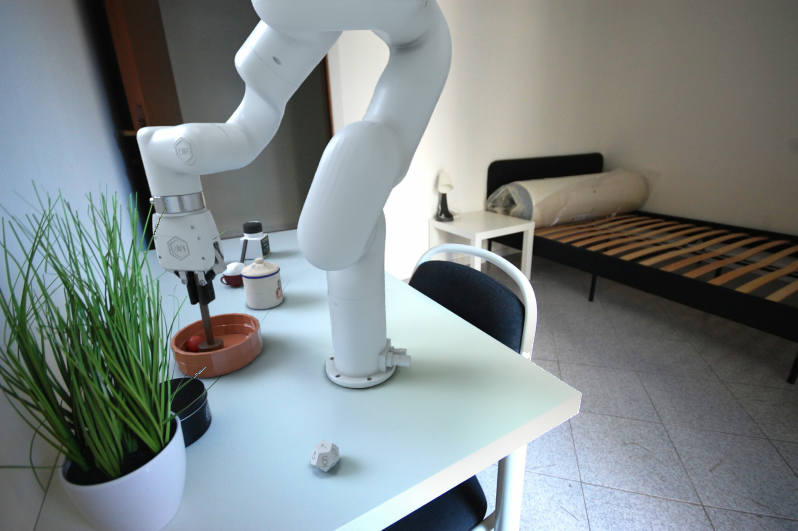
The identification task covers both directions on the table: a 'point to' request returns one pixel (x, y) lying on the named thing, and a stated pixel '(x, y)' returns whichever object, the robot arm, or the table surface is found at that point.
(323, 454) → the game die
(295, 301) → the table surface
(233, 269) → the cocoa
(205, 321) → the brown pole with base
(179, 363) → the bowl
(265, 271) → the teacup with lid
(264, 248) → the medicine bottle
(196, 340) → the ball
